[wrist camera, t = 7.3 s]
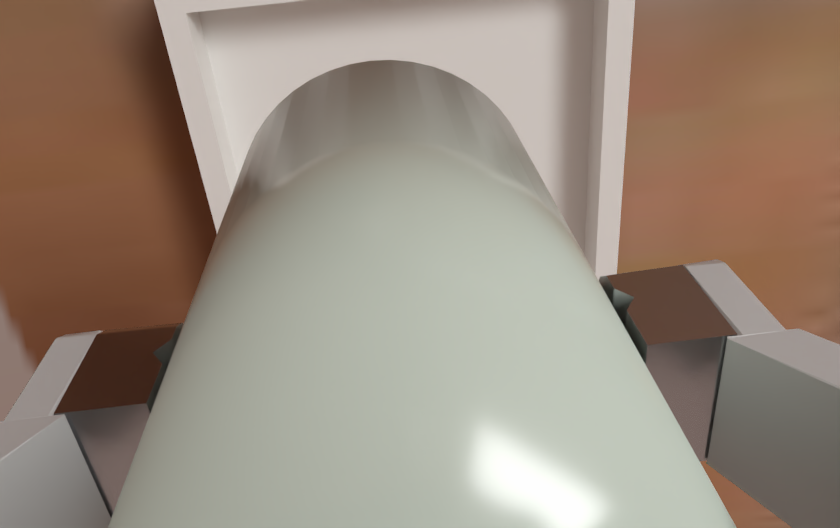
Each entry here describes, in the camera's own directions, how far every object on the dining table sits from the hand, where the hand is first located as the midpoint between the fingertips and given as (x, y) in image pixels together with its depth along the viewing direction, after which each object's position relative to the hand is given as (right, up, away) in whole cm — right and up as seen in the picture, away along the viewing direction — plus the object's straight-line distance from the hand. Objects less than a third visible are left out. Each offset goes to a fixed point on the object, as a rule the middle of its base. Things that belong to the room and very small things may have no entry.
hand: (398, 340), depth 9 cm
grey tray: (0, +5, +17) cm, 18 cm away
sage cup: (0, +2, +4) cm, 4 cm away
